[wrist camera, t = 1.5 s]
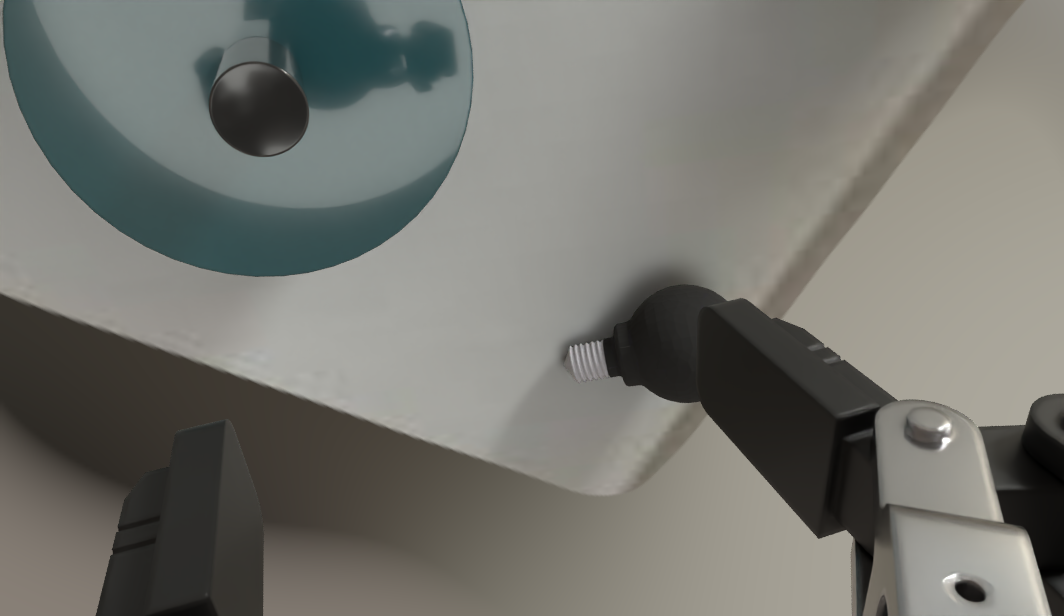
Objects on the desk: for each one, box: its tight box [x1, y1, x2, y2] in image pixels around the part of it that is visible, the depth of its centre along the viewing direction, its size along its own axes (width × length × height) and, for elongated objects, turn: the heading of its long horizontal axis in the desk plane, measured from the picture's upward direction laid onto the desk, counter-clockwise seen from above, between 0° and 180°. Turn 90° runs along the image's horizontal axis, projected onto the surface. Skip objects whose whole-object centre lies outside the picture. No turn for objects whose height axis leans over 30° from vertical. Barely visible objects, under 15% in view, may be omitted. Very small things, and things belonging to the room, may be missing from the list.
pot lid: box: [3, 0, 473, 277], centre depth 21 cm, size 13×13×6 cm
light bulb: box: [564, 285, 727, 403], centre depth 41 cm, size 6×6×10 cm
